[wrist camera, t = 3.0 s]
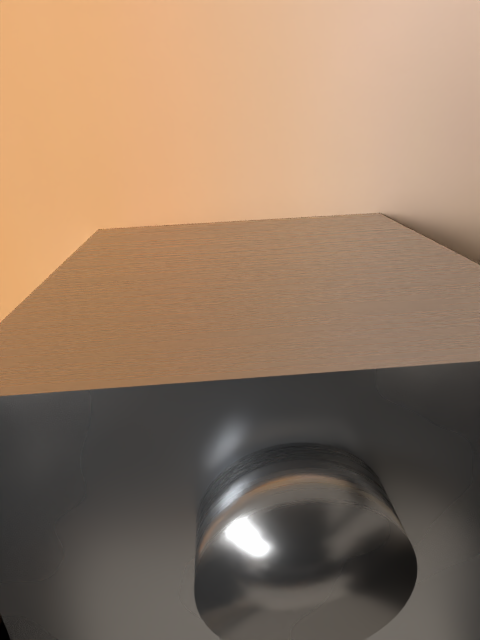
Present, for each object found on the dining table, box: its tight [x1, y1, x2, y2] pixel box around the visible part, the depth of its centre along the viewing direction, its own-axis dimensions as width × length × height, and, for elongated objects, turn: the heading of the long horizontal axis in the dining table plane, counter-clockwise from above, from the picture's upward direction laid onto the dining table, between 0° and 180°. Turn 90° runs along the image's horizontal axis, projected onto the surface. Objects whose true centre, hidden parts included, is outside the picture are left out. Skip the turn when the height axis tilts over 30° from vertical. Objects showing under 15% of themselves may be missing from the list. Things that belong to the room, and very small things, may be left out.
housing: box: [0, 213, 480, 640], centre depth 7 cm, size 5×8×6 cm, turn 3°
